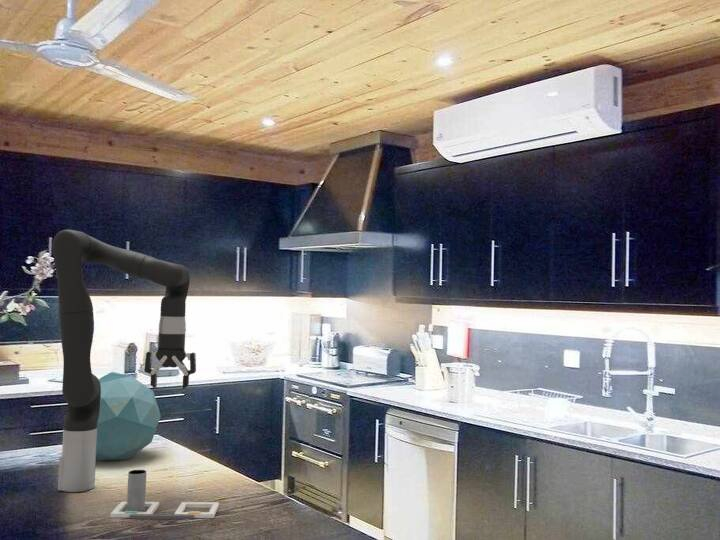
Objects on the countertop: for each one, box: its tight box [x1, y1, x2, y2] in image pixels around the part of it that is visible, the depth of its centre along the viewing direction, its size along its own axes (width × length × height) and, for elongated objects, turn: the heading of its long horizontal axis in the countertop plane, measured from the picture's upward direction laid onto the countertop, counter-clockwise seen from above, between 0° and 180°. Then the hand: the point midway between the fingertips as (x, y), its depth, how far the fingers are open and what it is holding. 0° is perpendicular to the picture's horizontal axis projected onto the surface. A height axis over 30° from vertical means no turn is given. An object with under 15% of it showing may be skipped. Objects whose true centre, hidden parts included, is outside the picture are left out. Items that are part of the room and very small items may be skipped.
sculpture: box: [96, 371, 161, 462], centre depth 233 cm, size 29×29×30 cm
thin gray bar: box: [128, 514, 195, 520], centre depth 172 cm, size 16×1×1 cm, turn 94°
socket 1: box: [109, 501, 160, 519], centre depth 177 cm, size 10×10×1 cm
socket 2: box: [173, 501, 220, 519], centre depth 178 cm, size 10×10×1 cm
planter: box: [126, 469, 147, 512], centre depth 177 cm, size 4×4×10 cm
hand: (169, 388), depth 195 cm, fingers open, 8 cm apart
